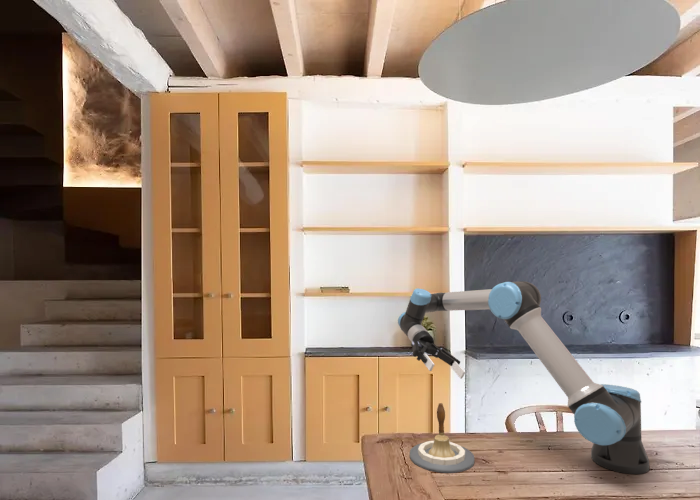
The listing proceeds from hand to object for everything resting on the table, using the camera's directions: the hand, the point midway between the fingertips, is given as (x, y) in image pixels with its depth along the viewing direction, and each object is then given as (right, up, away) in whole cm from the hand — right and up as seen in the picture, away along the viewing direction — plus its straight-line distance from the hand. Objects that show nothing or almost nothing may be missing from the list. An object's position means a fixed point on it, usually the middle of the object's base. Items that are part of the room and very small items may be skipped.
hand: (447, 371), depth 148 cm
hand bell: (-4, -23, -11) cm, 26 cm away
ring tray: (-4, -24, -11) cm, 27 cm away
